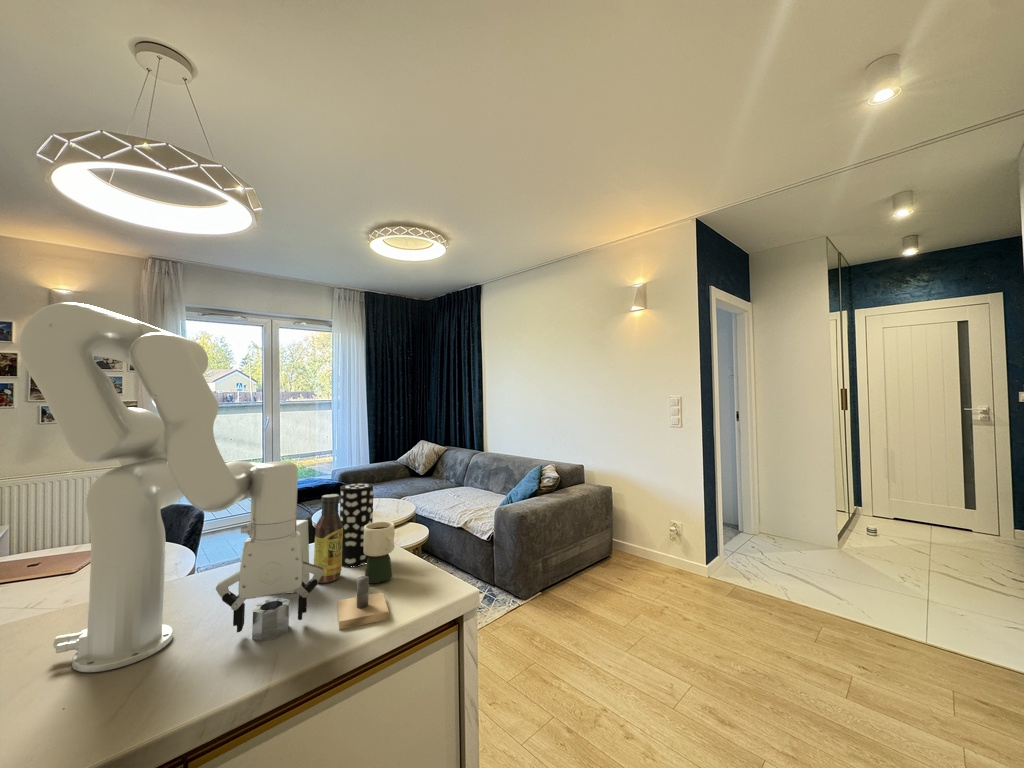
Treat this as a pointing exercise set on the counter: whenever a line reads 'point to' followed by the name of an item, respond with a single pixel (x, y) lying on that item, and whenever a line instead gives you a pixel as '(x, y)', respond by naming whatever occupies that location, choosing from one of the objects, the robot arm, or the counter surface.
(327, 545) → the sauce bottle
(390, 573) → the character mug
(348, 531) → the white-spotted black cylinder
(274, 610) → the tube
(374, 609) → the shaft stand
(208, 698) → the counter surface
